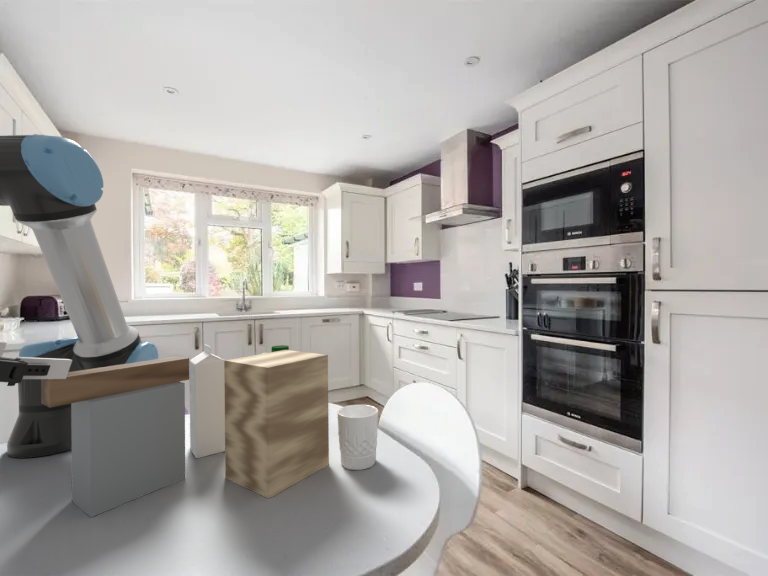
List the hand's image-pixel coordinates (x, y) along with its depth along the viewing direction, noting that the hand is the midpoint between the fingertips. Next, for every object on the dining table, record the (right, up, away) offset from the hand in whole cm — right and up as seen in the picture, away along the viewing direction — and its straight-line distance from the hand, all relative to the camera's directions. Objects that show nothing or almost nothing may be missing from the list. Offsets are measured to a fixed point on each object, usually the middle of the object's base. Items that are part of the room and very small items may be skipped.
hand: (33, 359), depth 56 cm
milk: (+15, -24, +23) cm, 36 cm away
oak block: (+33, -23, +14) cm, 42 cm away
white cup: (+47, -23, +17) cm, 55 cm away
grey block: (+9, -23, +8) cm, 26 cm away
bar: (+8, -6, +7) cm, 13 cm away
